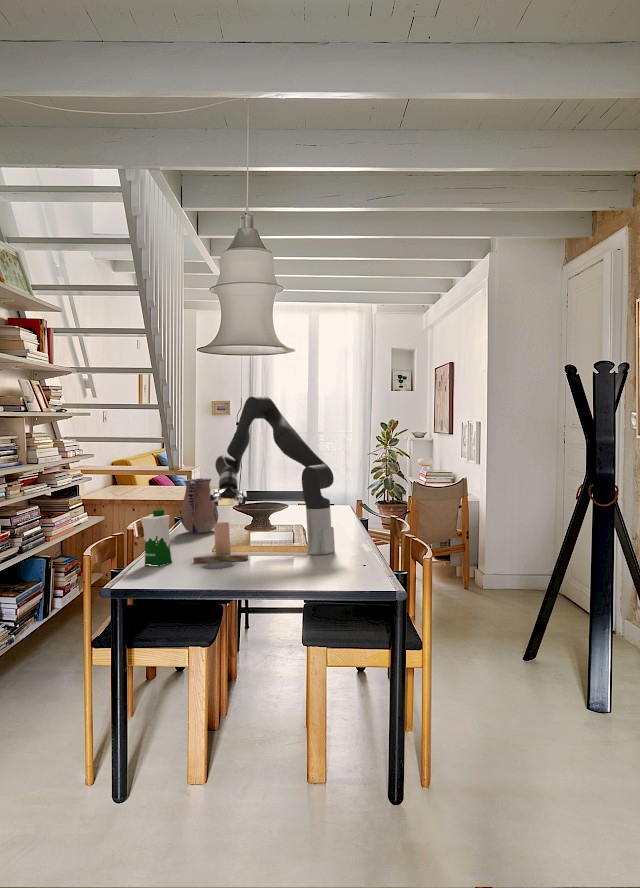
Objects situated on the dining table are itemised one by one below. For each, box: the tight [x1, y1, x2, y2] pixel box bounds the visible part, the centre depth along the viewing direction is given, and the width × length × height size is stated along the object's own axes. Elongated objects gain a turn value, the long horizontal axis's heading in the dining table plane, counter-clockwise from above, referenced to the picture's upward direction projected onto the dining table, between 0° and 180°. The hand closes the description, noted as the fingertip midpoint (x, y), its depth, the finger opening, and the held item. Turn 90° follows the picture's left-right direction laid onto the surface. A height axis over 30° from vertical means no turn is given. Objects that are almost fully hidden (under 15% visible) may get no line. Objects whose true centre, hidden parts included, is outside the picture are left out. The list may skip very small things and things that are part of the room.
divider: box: [192, 553, 249, 564], centre depth 267 cm, size 20×2×2 cm, turn 91°
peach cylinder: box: [213, 521, 232, 556], centre depth 275 cm, size 6×6×13 cm
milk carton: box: [140, 509, 172, 567], centre depth 268 cm, size 9×9×20 cm
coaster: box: [203, 561, 233, 570], centre depth 260 cm, size 10×10×1 cm
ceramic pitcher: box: [180, 477, 219, 535], centre depth 337 cm, size 18×21×25 cm
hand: (228, 504), depth 279 cm, fingers open, 8 cm apart
